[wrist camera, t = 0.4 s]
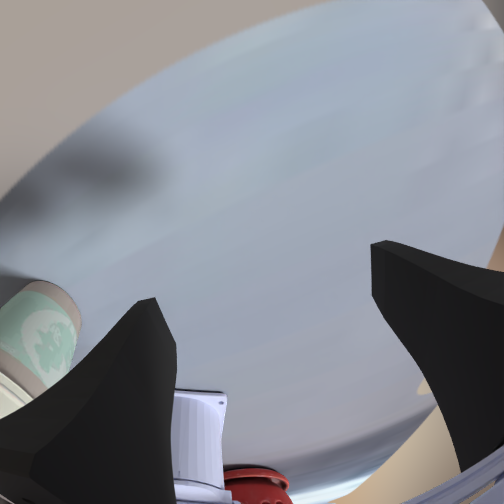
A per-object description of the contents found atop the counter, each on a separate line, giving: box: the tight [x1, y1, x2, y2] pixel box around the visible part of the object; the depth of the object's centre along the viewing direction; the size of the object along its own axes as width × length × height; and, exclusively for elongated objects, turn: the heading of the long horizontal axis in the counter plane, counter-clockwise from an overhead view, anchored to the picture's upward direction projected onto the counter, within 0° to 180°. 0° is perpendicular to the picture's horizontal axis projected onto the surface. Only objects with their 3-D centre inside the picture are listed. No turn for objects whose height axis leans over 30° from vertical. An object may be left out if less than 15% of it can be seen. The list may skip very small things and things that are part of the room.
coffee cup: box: [0, 281, 82, 419], centre depth 15 cm, size 8×8×12 cm
